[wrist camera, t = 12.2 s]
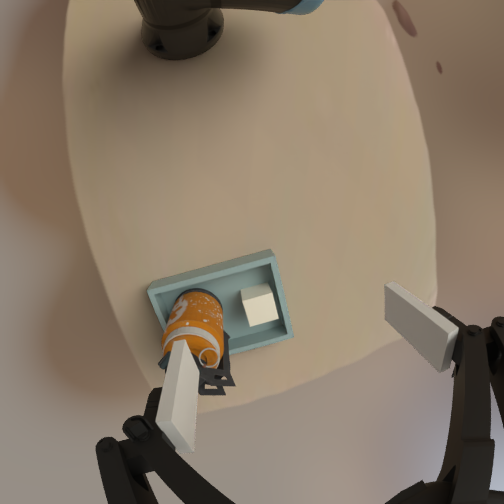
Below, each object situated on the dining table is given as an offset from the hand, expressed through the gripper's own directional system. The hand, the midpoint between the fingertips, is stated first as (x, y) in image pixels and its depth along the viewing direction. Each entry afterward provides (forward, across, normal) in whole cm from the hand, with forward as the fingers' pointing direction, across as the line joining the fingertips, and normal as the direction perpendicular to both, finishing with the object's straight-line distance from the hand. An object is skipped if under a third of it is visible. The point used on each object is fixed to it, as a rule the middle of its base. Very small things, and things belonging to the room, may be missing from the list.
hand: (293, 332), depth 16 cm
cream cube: (+31, -1, -12) cm, 33 cm away
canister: (+31, -11, -12) cm, 35 cm away
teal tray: (+32, -8, -12) cm, 35 cm away
